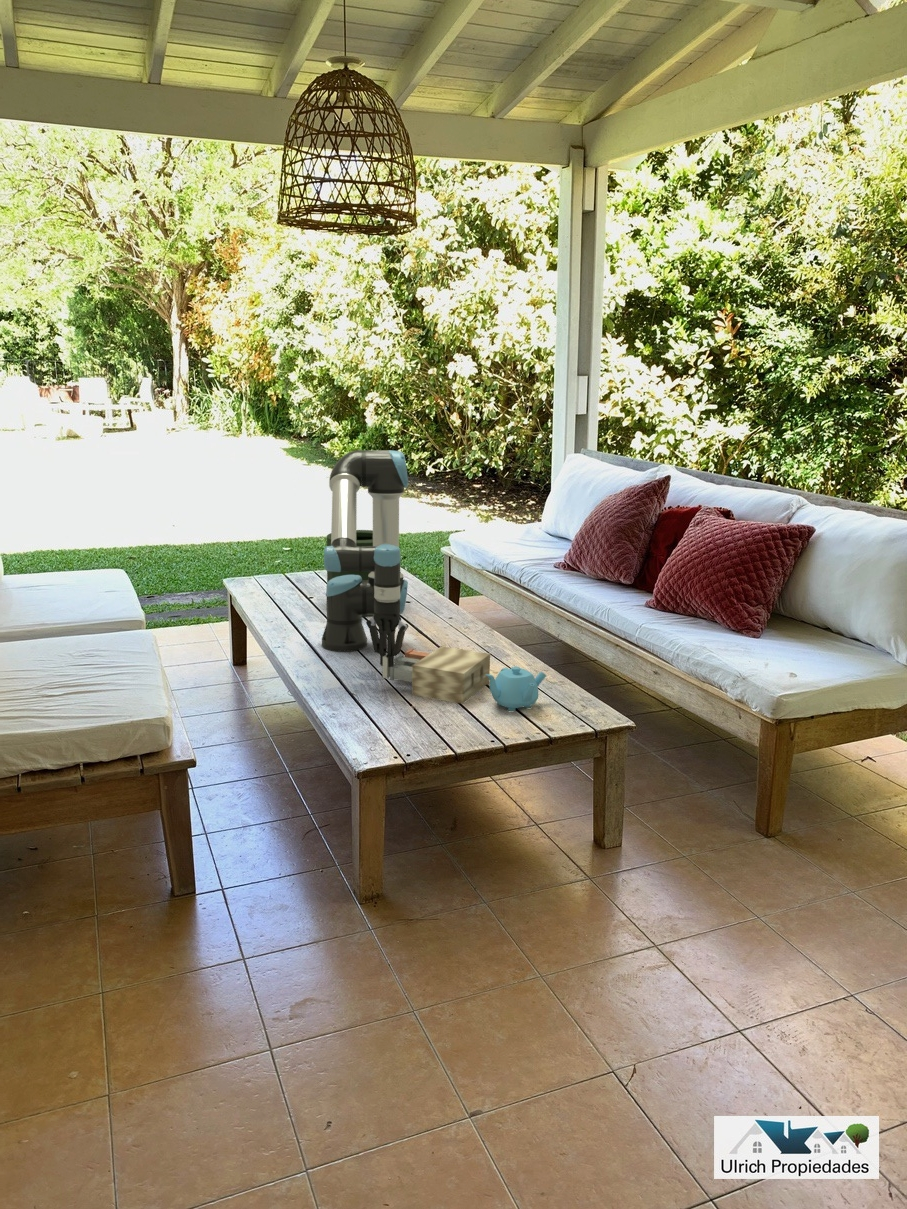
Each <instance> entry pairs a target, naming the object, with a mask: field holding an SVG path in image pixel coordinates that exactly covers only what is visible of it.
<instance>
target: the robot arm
mask: <svg viewBox="0 0 907 1209" xmlns="http://www.w3.org/2000/svg"><path fill="white" fill-rule="evenodd" d="M406 461H407V460H406V456H405V454H404V453H403V452H402V451H399V450H390V449H389V450H388V449H387V450H386V449H384V450H382V449H380V450H377V449H376V450H370V449H369V450H368V449H367V450H366V449H365V450H363V449H358V450H357V449H356V450H352V451H349V452H347V453H345V454H344V455H343V456H341V458H340V459H338V460H337V462H335V465H334V466H333V468H332V469H331V472H330V475H329V482H328V483H329V484H328V486H329V490H330V491H331V492H332V493H331V494H332V495H331V528H330V529H331V546H327V545H326V546H325V547H324V549H323V565H324V566H323V567H324V570H325V571H326V572H327V571H331V572H370V573H369V575H368V580H362V578H361V576H359V575H343V576H339V577H335V578H333V579H331V580H329V581H328V583H327V582H326V591H325V592H326V593H325V597H326V625H325V627H324V631H323V634H322V637H321V646H322V648H324V649H325V650H328V651H333V652H354V651H359V650H363V649H364V648H366V647H367V646H368V638H367V635H366V631H365V628H364V625H363V617H362V615H374V616H373V617H371V618H370V619H368V620H366V621H365V624H366V625H367V627H368V629H369V635H370V639H371V643H372V647H373V651H374V653H375V654H378V655H379V658H380V659H379V660H380V661H379V662H380V663H379V664H380V666H382V678H383V679H388V678H389V679H390V667H391V666H392V665H394V659H395V657H397V656H399V654H401V651H402V646H403V643H404V638H405V634H406V631H408V629H409V625H408V623H404V622H403V621H402V618H401V614H403V612H404V611H405V608H406V604H407V603H406V602H407V597H408V582H409V581H408V580H407V579H404V573H402V571H401V561H402V557H401V548H400V497H402V495H404V493H405V492H404V491H405V488H408V487H409V479H408V477H409V476H408V470H407V463H406ZM360 487H361V488H362V487H363V488H367V493H368V495H370V496H371V497H372V530H373V546H356V530H357V508H358V507H357V506H358V503H357V495H358V494H357V493H358V492H359V490H360ZM366 585H367V588H366ZM366 598H367V599H366ZM397 629H398V631H397V633H396V630H397ZM396 634H397V635H396ZM395 638H396V639H395Z"/></svg>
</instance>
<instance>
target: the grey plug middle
mask: <svg viewBox="0 0 907 1209" xmlns="http://www.w3.org/2000/svg"><path fill="white" fill-rule="evenodd" d="M418 661H420V660H419V659H413V658H407V657H405V656H404V655H403V654H402V655H397V656H395V657H394V664H395V663H399V665H404V666H410V667H413V665H414V664H415V663H417V662H418Z"/></svg>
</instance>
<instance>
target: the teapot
mask: <svg viewBox="0 0 907 1209" xmlns="http://www.w3.org/2000/svg"><path fill="white" fill-rule="evenodd" d="M485 675H486V676H488V678H489V691H490V693H491V697H492V699H493V700H494V701H495V702H496V704H497V705H498V706H502V707H504V708H507V710H508V711H507V712H509V711H514V712H516V709H518V708H524V707H525V708H524V709H526V708H531V707H532V708H533V706H532V705H534V704H535V703H536V702H537V700H539V688H538V687H539V686H540V685H541V683H543V681H544V679H545V678H546V677H547V674H546V673H544V672H543V671H540V672H539V673H538V674H537V675H536V677H535V676H534V675H533V673H532V672H530V671H529V670H528V669H525V668H521V667H520V666H512V667H511V668H508V667H503V668H501V669H500V671H499V672H498V673H497V675H496V677H495V676H494V675H493V674H490V675H489V674H485ZM532 708H531V709H532Z"/></svg>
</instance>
